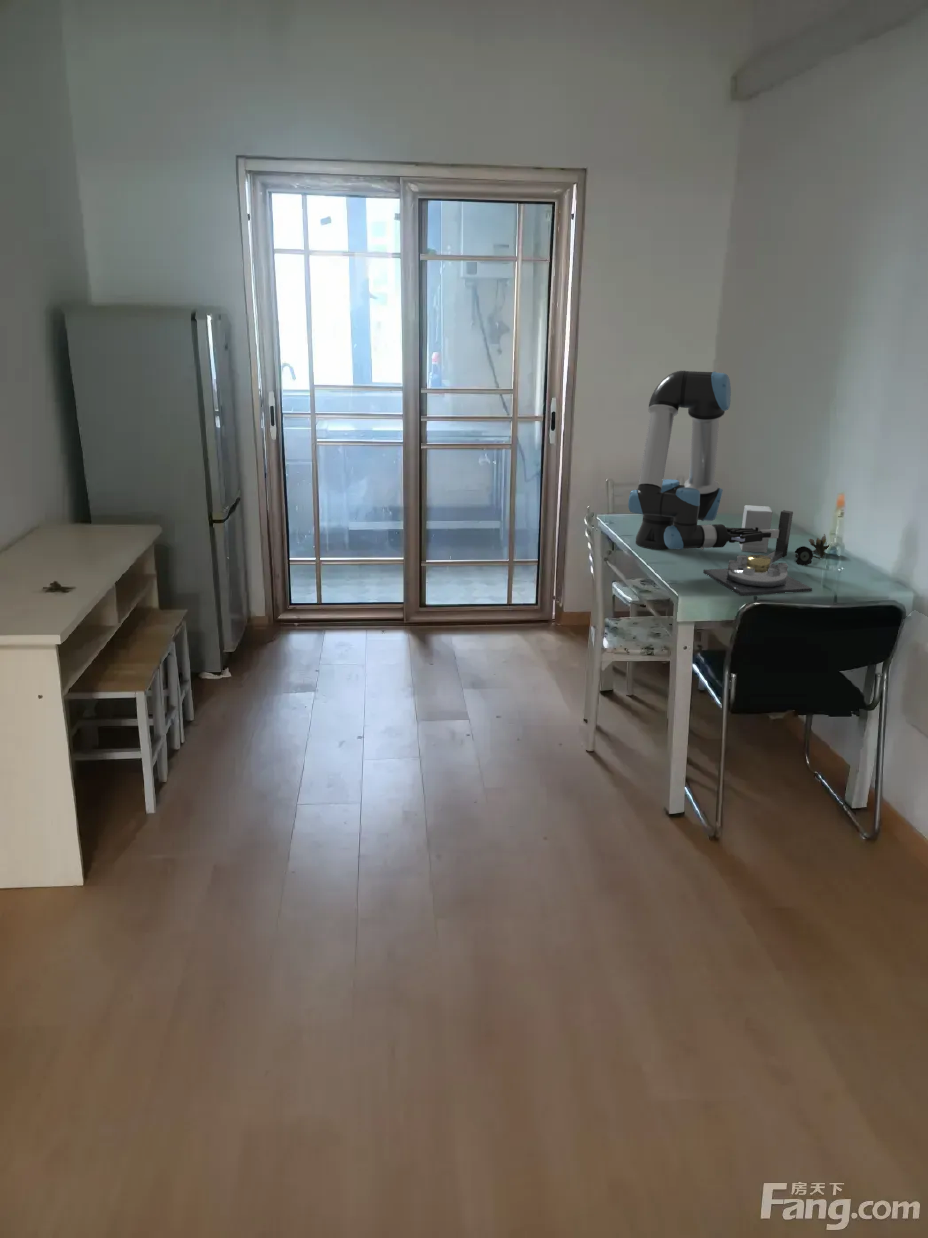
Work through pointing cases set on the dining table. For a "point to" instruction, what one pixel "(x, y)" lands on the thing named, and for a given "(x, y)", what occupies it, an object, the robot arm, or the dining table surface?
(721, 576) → the flange plate
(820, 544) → the artificial flower
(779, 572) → the round grey fixture
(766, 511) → the supplement box
